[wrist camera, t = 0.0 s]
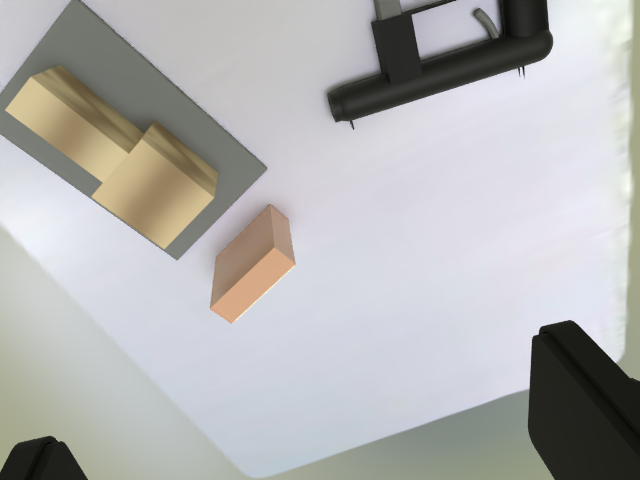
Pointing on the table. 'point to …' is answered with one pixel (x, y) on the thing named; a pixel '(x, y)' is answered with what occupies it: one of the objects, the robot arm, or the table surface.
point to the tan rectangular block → (252, 264)
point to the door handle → (441, 57)
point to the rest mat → (128, 112)
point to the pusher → (118, 155)
